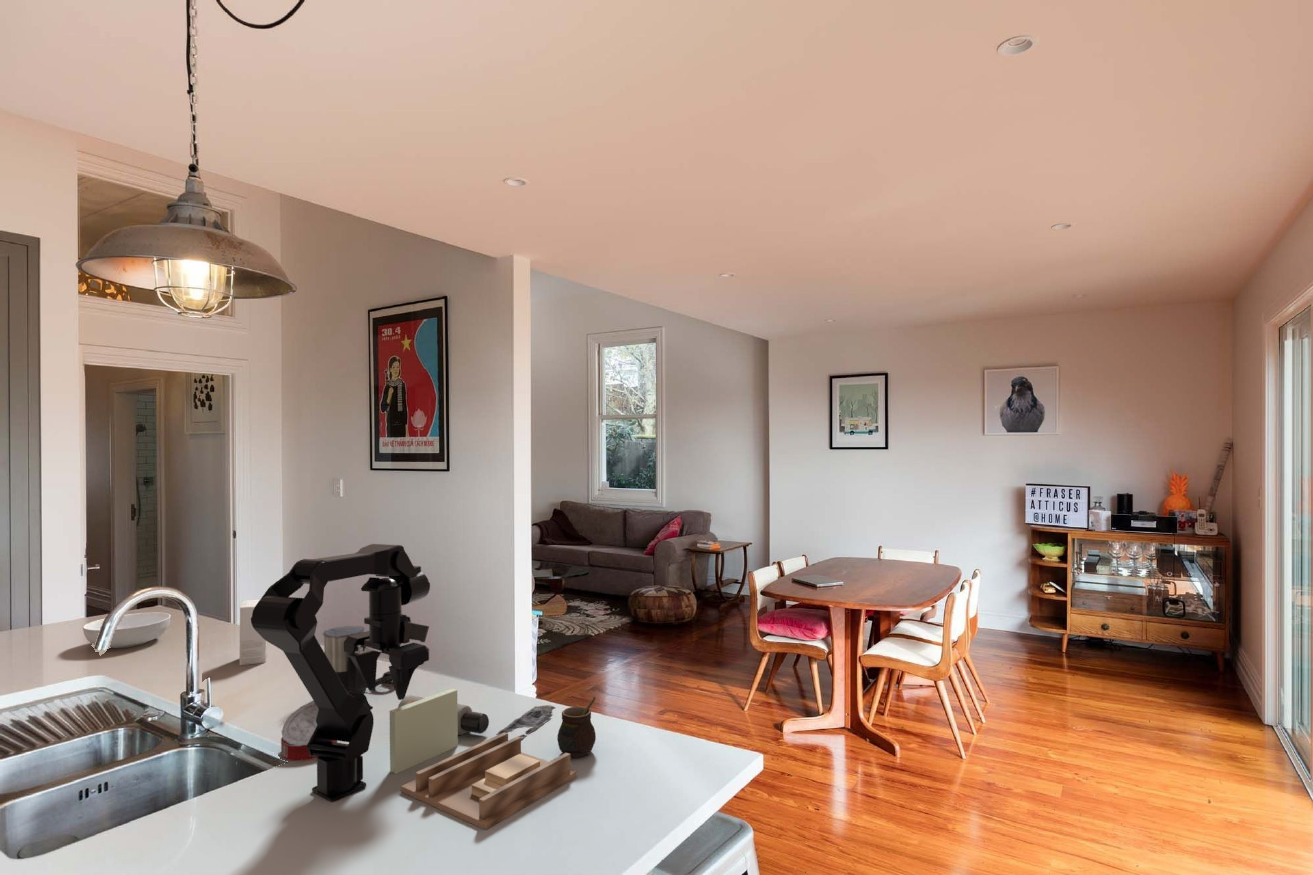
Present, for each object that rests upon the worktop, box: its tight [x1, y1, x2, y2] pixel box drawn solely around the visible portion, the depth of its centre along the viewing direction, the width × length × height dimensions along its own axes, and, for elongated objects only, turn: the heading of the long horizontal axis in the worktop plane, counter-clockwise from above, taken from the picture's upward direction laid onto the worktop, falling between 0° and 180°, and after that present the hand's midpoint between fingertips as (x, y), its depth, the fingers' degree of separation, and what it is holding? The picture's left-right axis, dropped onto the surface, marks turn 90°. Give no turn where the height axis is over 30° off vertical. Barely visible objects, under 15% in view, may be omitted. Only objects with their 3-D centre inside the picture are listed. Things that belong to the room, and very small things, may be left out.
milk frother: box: [322, 625, 393, 694], centre depth 175 cm, size 14×16×15 cm
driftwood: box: [495, 704, 556, 741], centre depth 153 cm, size 21×7×2 cm, turn 158°
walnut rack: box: [400, 732, 577, 831], centre depth 127 cm, size 21×21×4 cm
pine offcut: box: [472, 778, 502, 798], centre depth 125 cm, size 11×6×2 cm, turn 145°
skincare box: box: [239, 599, 269, 667], centre depth 198 cm, size 8×7×16 cm
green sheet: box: [389, 688, 459, 775], centre depth 138 cm, size 14×2×11 cm, turn 145°
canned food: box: [280, 699, 338, 762], centre depth 142 cm, size 11×10×10 cm
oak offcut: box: [485, 754, 540, 786], centre depth 126 cm, size 8×5×2 cm, turn 145°
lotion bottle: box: [397, 694, 490, 736], centre depth 151 cm, size 6×6×20 cm
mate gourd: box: [556, 696, 597, 759], centre depth 140 cm, size 7×8×10 cm
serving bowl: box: [82, 611, 172, 649], centre depth 215 cm, size 21×21×7 cm
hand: (386, 694), depth 138 cm, fingers open, 9 cm apart
